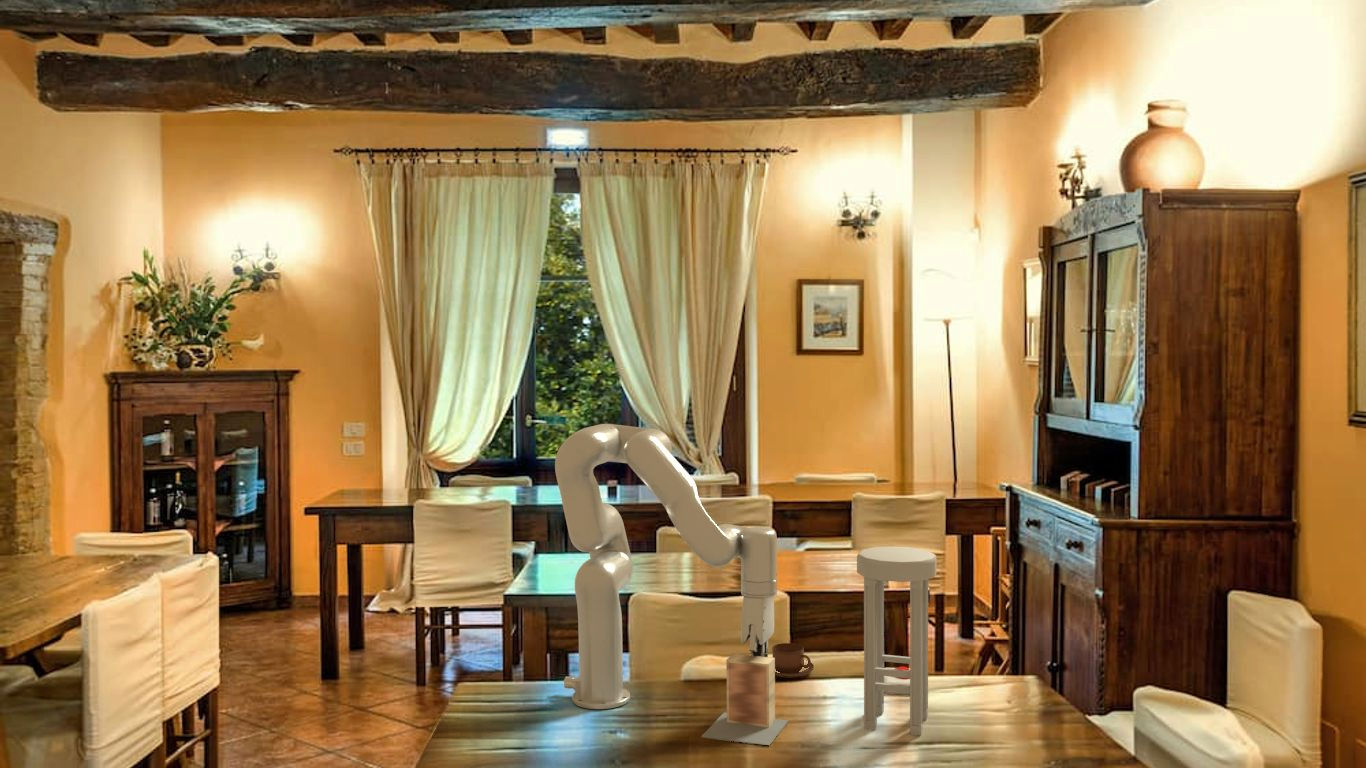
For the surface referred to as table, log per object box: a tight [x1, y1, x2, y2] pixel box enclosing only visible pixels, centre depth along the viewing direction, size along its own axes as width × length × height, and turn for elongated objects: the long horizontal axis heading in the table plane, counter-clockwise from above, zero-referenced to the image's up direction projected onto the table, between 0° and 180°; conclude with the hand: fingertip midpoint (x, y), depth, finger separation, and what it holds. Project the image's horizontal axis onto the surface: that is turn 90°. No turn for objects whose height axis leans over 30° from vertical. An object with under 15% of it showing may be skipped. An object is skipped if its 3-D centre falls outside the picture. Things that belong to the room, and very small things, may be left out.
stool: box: [856, 545, 938, 736], centre depth 219 cm, size 16×16×35 cm
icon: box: [884, 666, 910, 696], centre depth 243 cm, size 12×4×10 cm
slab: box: [726, 653, 776, 727], centre depth 221 cm, size 9×4×13 cm, turn 69°
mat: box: [701, 711, 789, 746], centre depth 217 cm, size 14×14×1 cm
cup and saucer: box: [771, 642, 815, 679], centre depth 253 cm, size 12×12×6 cm
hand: (759, 672), depth 226 cm, fingers closed
